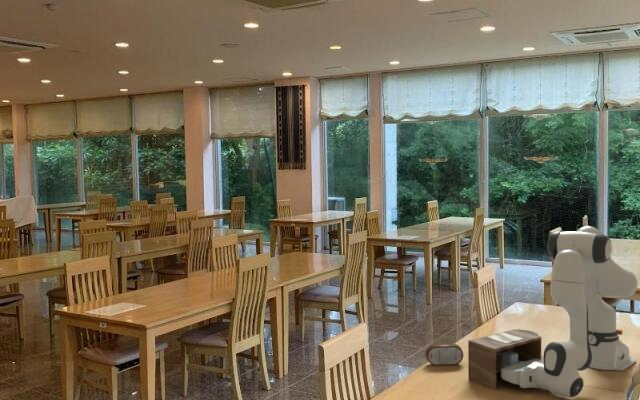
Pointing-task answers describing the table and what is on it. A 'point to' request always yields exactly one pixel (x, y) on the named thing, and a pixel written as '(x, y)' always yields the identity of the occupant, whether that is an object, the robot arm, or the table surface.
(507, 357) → the blue block
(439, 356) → the oval desk clock
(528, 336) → the small brown desk
